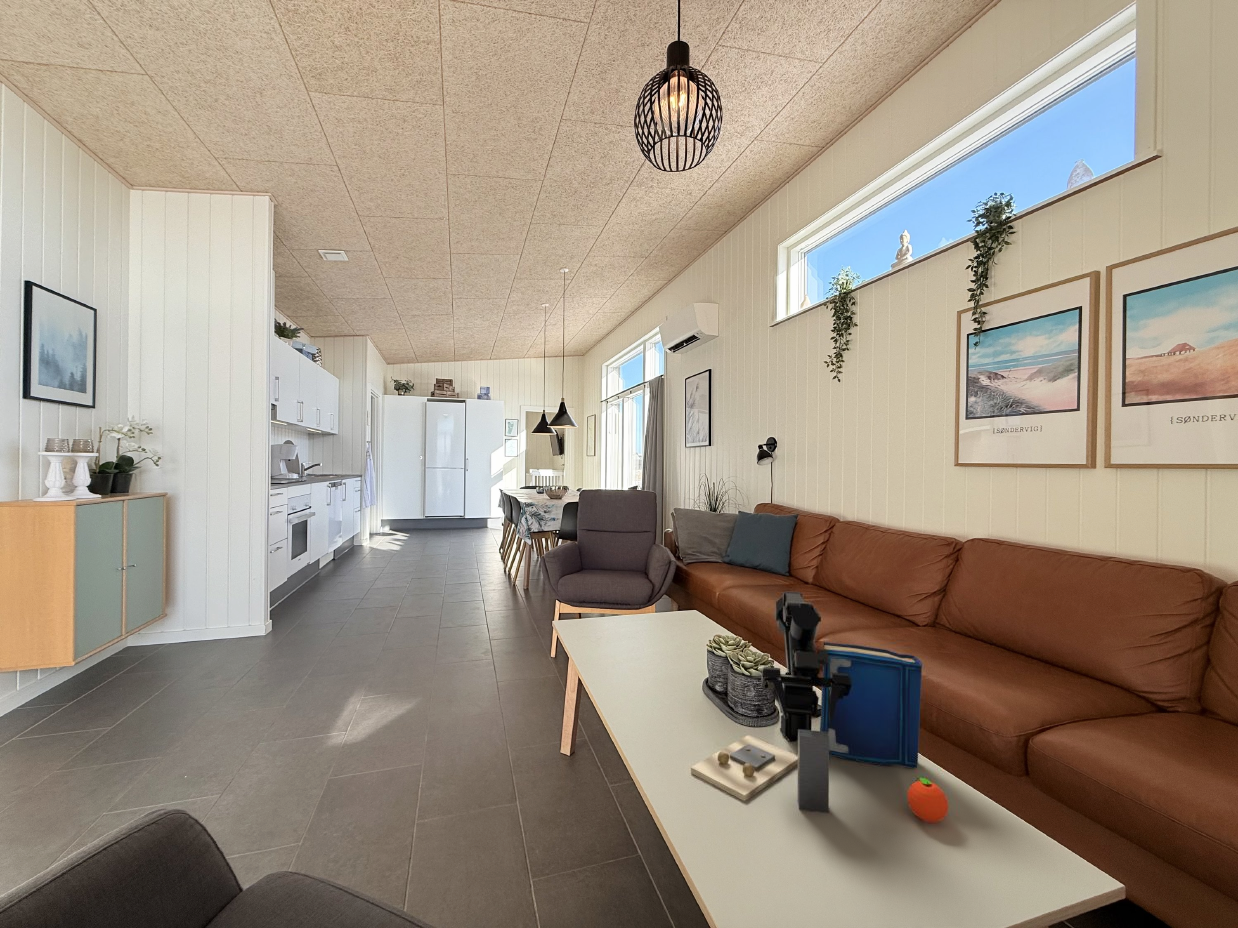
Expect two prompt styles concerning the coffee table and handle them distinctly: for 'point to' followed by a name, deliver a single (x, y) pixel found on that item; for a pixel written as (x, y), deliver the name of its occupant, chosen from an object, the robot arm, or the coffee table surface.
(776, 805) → the coffee table surface
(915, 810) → the clementine
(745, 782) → the board
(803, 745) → the grey block
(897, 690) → the book
